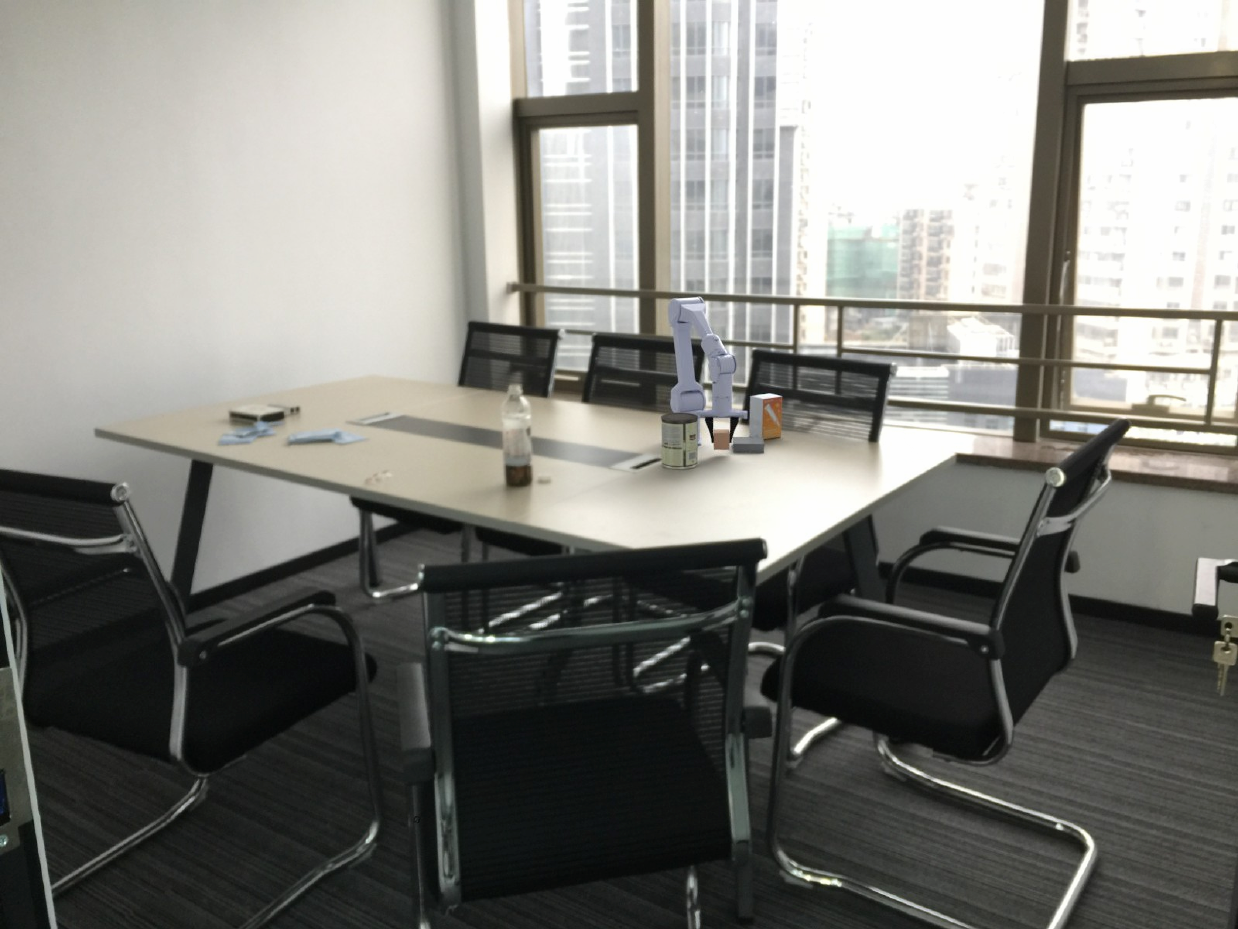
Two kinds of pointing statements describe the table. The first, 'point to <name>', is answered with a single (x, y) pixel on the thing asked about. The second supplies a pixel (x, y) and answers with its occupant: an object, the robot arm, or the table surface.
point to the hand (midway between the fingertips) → (721, 442)
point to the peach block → (721, 439)
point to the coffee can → (679, 440)
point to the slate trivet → (748, 444)
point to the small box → (765, 416)
